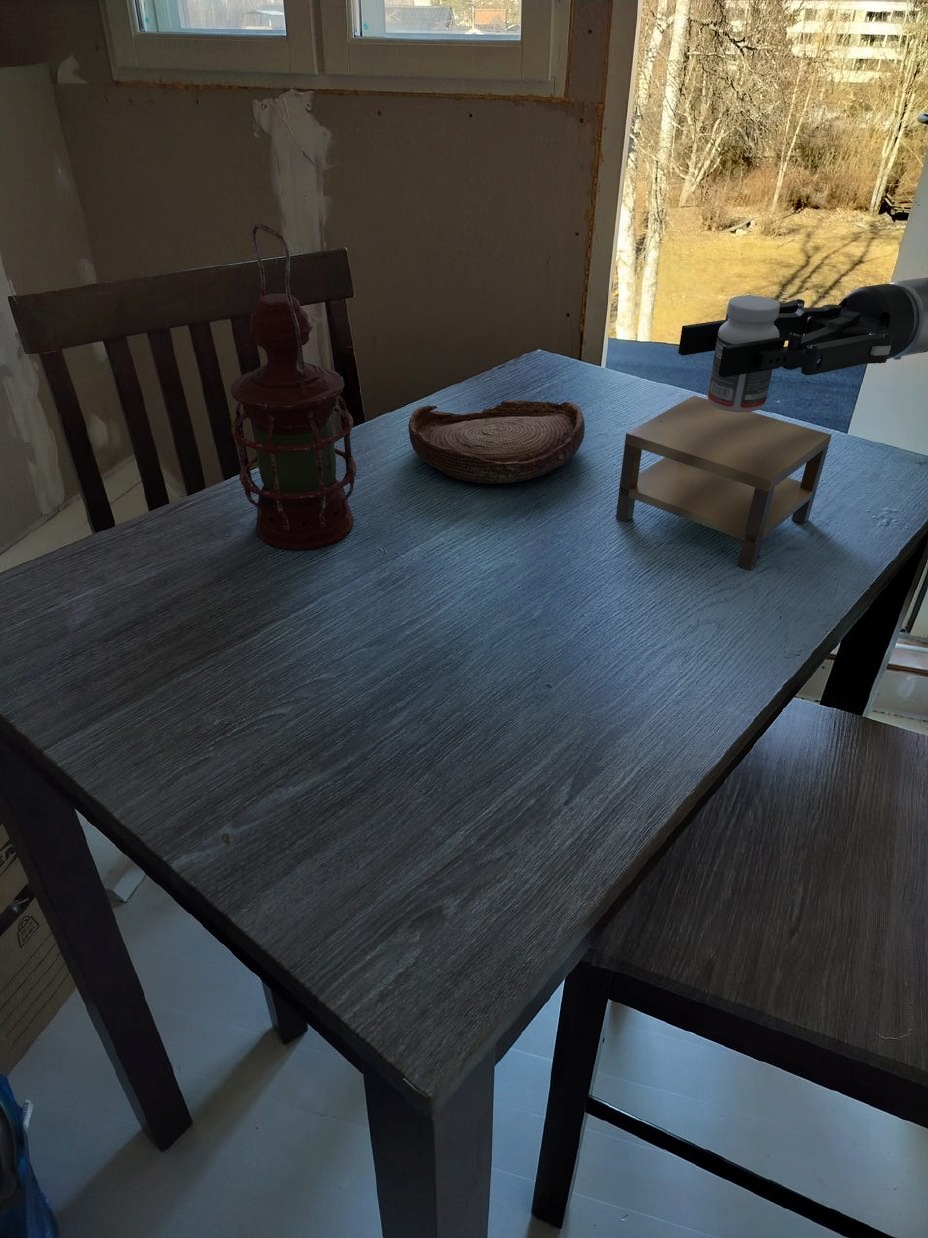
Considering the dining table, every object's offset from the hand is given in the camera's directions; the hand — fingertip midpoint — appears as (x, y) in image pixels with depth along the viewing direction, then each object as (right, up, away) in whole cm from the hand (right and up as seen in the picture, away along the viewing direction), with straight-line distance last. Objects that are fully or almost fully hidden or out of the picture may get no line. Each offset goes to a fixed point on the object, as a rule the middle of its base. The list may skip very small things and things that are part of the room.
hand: (702, 351), depth 81 cm
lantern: (-40, -16, +12) cm, 44 cm away
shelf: (+5, -14, +13) cm, 20 cm away
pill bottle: (+5, -4, +5) cm, 8 cm away
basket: (-18, -5, +26) cm, 32 cm away
